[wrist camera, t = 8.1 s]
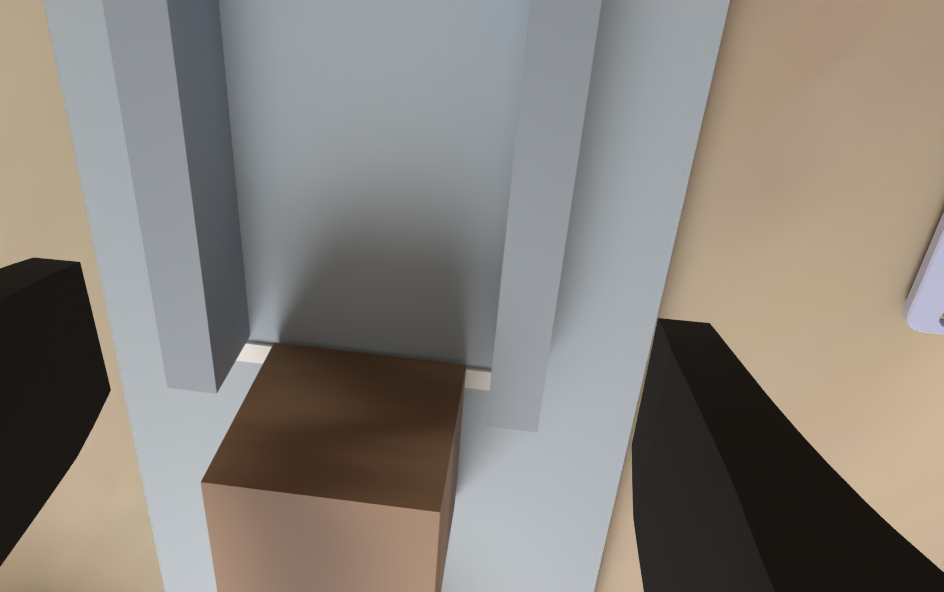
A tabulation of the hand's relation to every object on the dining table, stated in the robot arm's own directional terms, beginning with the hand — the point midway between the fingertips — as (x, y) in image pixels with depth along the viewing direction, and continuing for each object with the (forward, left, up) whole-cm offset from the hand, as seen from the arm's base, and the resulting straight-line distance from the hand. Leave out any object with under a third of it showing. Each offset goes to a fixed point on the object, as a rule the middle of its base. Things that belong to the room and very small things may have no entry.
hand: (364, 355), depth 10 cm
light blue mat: (+2, +9, -10) cm, 13 cm away
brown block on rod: (+2, +14, -9) cm, 17 cm away
